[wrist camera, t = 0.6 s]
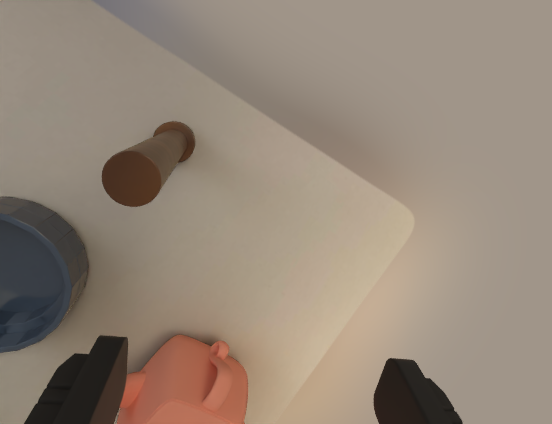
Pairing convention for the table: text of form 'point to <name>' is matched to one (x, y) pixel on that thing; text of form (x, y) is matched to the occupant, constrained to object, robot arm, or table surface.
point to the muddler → (147, 165)
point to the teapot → (186, 386)
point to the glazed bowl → (36, 272)
